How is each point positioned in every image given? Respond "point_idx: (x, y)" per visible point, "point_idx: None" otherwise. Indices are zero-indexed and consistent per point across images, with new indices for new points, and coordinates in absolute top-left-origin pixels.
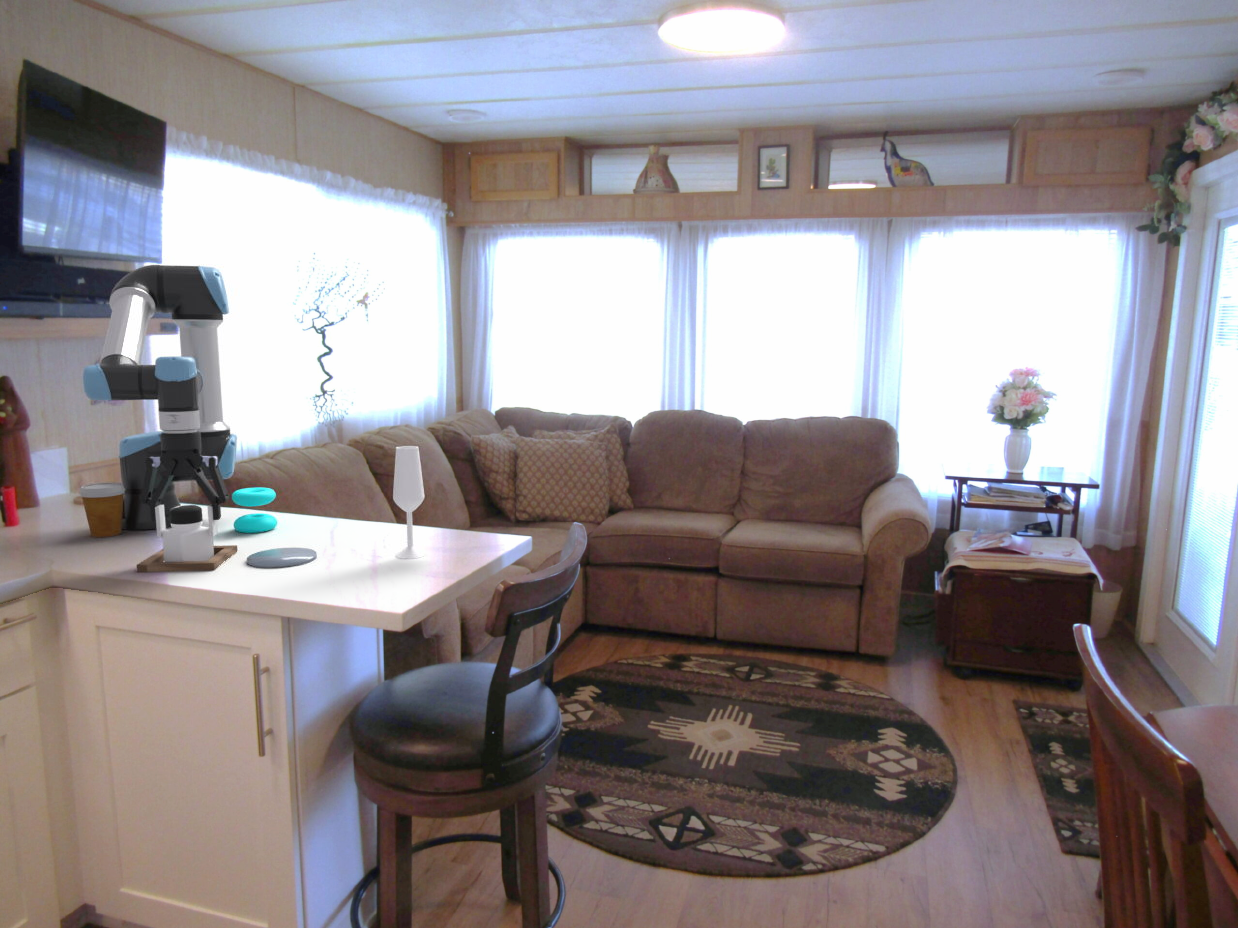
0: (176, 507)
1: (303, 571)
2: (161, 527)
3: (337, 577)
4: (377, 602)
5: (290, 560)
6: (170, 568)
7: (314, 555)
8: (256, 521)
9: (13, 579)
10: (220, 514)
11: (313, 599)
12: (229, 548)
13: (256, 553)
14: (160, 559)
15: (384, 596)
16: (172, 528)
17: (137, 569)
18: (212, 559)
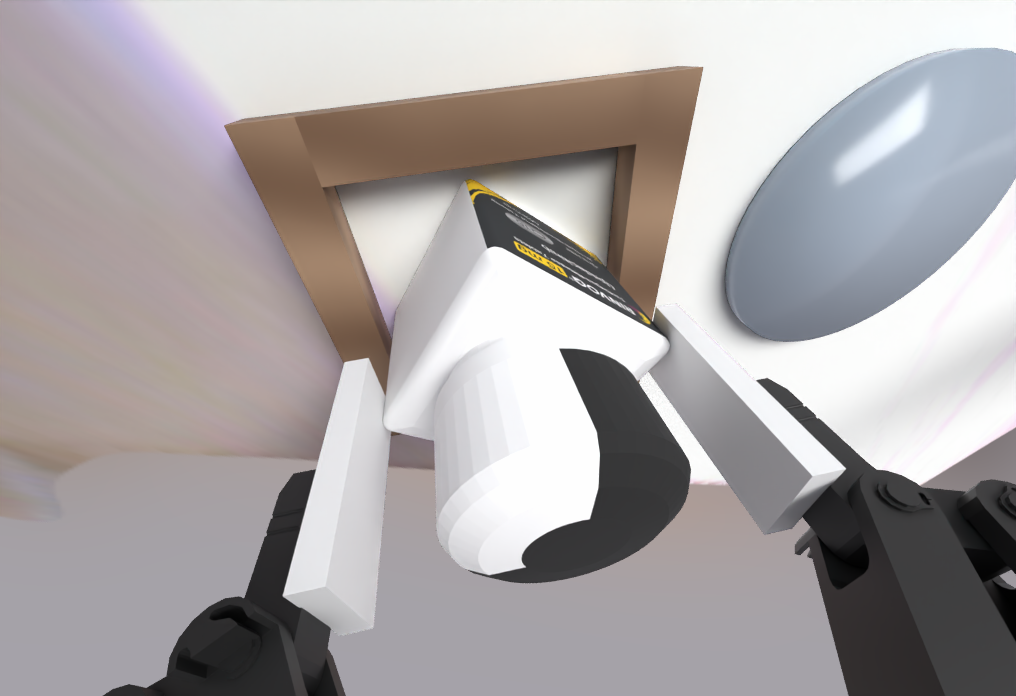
0: (507, 571)
1: (867, 351)
2: (383, 450)
3: (917, 382)
4: (903, 472)
5: (874, 295)
6: None
7: (983, 221)
8: None
9: (29, 519)
10: (795, 409)
11: None
12: (665, 166)
13: (780, 197)
14: (382, 328)
15: (929, 453)
16: (434, 408)
17: None
18: None
